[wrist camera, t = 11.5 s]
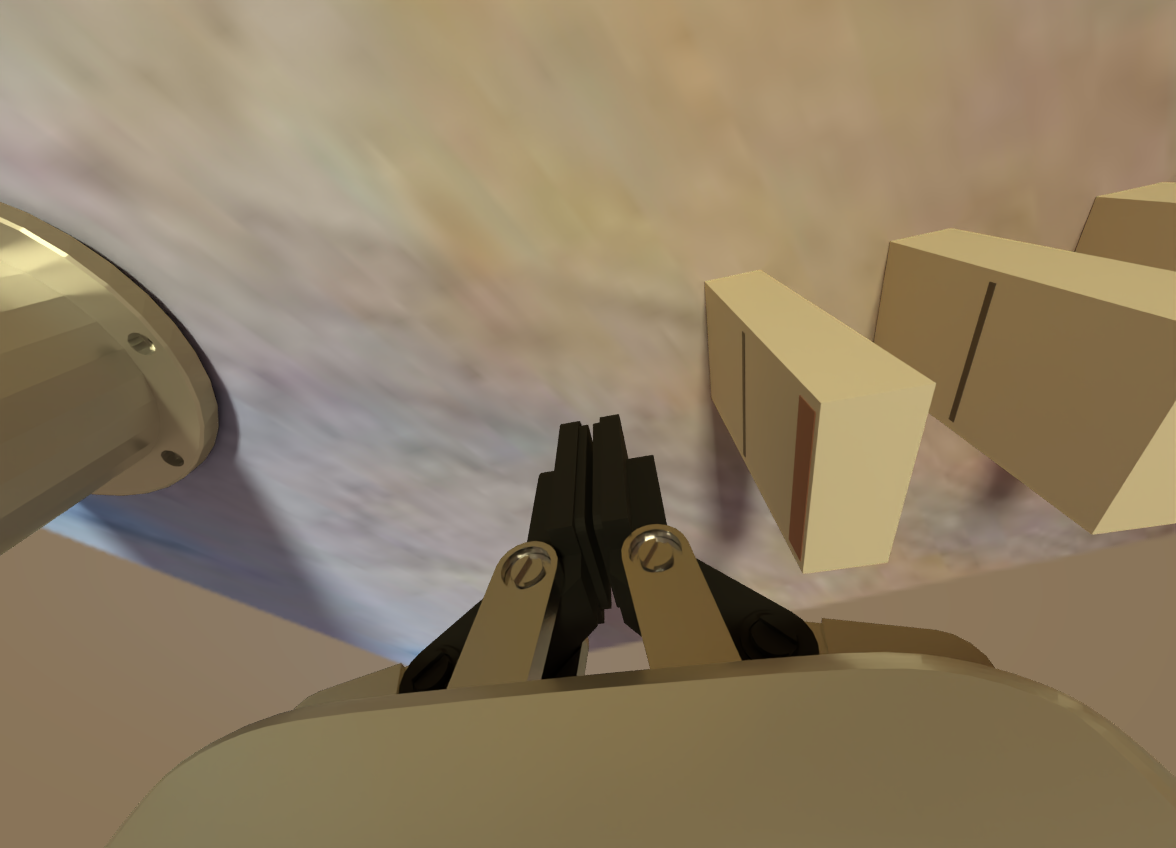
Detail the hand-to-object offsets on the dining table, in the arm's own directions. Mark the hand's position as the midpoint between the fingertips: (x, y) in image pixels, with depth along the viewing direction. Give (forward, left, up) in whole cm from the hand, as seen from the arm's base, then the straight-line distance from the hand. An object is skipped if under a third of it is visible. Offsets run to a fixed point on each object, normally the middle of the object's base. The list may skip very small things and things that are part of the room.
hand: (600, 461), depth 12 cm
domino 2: (+12, 0, -6) cm, 14 cm away
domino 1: (+6, 0, -6) cm, 8 cm away
